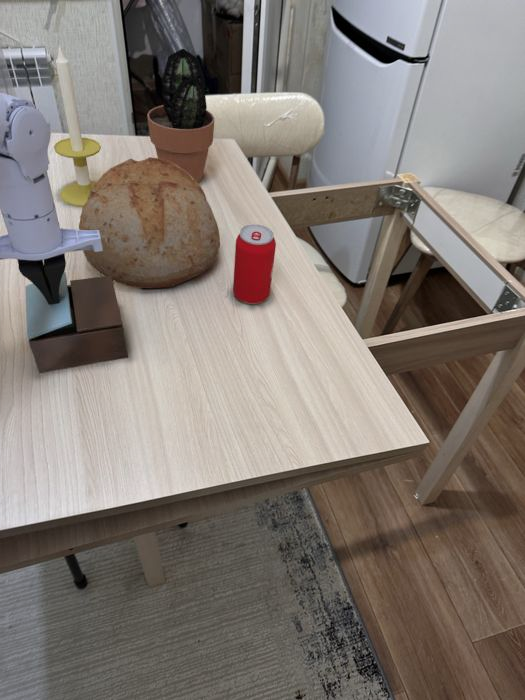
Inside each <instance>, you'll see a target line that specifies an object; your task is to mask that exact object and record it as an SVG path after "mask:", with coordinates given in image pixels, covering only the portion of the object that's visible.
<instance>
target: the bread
mask: <svg viewBox="0 0 525 700" xmlns="http://www.w3.org/2000/svg"><path fill="white" fill-rule="evenodd" d="M95 182H96V183H95V185H94V186H93V188H92V189H91V192H90V194H89V196H88V200H87V202H86V203H85V204H84V205H83V206H82V209H81V213H80V216H79V223H78V230H99V233H100V237H101V243H102V249H103V251H99V252H94V250H93V249H91V250H82V252H83V254H84V257H85V258H86V261H87V262H88V263H89V264H90V265H91V267H92V268H93V269H94V270H95V271H96V272H98V273H100V274H101V275H103V276H110V275H111V277H112V280H113V282H117V283H119V284H122V285H124V286H129V287H133V288H134V287H135V288H142V289H144V288H145V289H157V288H158V289H159V288H160V289H161V288H171V287H173V286H176V285H179V284H181V283H183V282H186V281H188V280H191V279H192V278H194V277H197V276H198V275H201V274H203V273H204V272H206V271H207V270H208V269H209V268H210V267H212V265H213V264H214V262H215V260H216V258H217V256H218V254H219V250H220V247H221V237H220V229H219V226H218V223H217V220H216V218H215V215H214V212H213V209H212V207H211V205H210V203H209V201H208V200H207V197H206V193H205V192H204V189H203V188H202V186H201V185H200V184H199V183H197V182H196V181H195V179H194V178H193V177H192V176H191V175H190V174H189V173H188V172H186V171H185V170H184V169H182V168H181V167H179V166H178V165H176V164H174V163H172V162H170V161H167V160H164V159H161V158H158V157H150V156H149V157H147V158H145V159H142V160H134V159H133V158H129V159H128V160H124V161H122V162H120V163H119V164H116V165H114V166H112V167H110V168H109V169H108V170H107V171H105V172H104V173H103V174H102V175H101V177H100V178H99V179H98V180H97V181H95Z"/></svg>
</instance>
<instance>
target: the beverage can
mask: <svg viewBox="0 0 525 700" xmlns="http://www.w3.org/2000/svg"><path fill="white" fill-rule="evenodd" d="M276 247H277V241H276V239H275V237H274V232H273V230H271V228H269V227H267V226H265V225H262V224H255V223H254V224H247V225H245V226H242V228H241V229H240V231H239V233H238V235H237V237H236V238H235V247H234V250H235V251H234V265H233V266H234V267H233V283H232V293H233V295H234V297H235V298H236V299H237V300H238V301H240V302H242V303H245V304H249V305H256V304H260V303H263V302H265V301H266V300H268V299H269V297H270V295H271V289H272V280H273V270H274V265H275V256H276Z"/></svg>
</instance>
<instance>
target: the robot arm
mask: <svg viewBox="0 0 525 700" xmlns="http://www.w3.org/2000/svg"><path fill="white" fill-rule="evenodd" d="M51 131H52V130H51V122H49V121H47V120H46V118H45V117H44V115H43V114H42V112H41V111H40V110H39V108H37V105H35V104H34V103H33V102H32V101H31V100H28V99H25V98H21V97H18V96H14V95H11V94H8V93H4V92H0V213H1V215H2V219H3V223H4V226H5V229H6V232H7V234H4V235H0V260H9V259H10V260H17V264H18V270H19V273H20V274H21V275H22V276H23V277H24V278H25V279H27V280H28V281H29V282H31V284H34V285H35V286H36V287H37V288H38V289H39V290H40V292H41V293H42V294H43V296H44V297H45V299H46V301H47V303H48V304H49V305H50V304H57V303H60V301H59V287H60V282H61V278H62V276H63V273H64V272H65V271H66V266H67V262H66V261H67V260H66V254H67V253H73V252H81V251H82V252H83V250H91V249H93V250H94V252H99V251H103V249H102V243H101V237H100V233H99V230H79V229H75V228H74V229H73V228H61V226H60V222H59V221H60V220H59V217H58V213H57V208H56V204H55V200H54V195H53V191H52V186H51V182H50V178H49V174H48V171H49V169H50V168H49V165H50V163H51V162H50V159H49V154H48V153H49V146H50V142H51V134H52V133H51Z"/></svg>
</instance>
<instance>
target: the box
mask: <svg viewBox="0 0 525 700" xmlns="http://www.w3.org/2000/svg"><path fill="white" fill-rule="evenodd" d="M69 281H70V284H67V287H68V295H69V303H70V309H71V308H73V310H74V314H75V320H76V327H77V332H79V333H74V334H68V335H61V336H55V337H49V338H46V335H45V334H42V335H40V336H37V337H35V338H32V339H28V345H29V348H30V350H31V354H32V357H33V358H34V361H35V365H36V368H37V370H38V373H39V374H42V373H43V374H44V373H47V372H53V371H60V370H65V369H70V368H71V369H72V368H75V367H76V368H77V367H81V366H88V365H92V364H93V365H94V364H99V363H104V362H110V361H114V360H120V359H126V358H127V359H128V355H129V354H128V349H127V343H126V335H125V329H124V324H123V319H122V315H121V311H120V307H119V303H118V298H117V294H116V289H115V284H114V280H112V277H111V275H110V276H104V275H103V276H97V277H88V278H87V277H86V278H80V279H72V280H69Z"/></svg>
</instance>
